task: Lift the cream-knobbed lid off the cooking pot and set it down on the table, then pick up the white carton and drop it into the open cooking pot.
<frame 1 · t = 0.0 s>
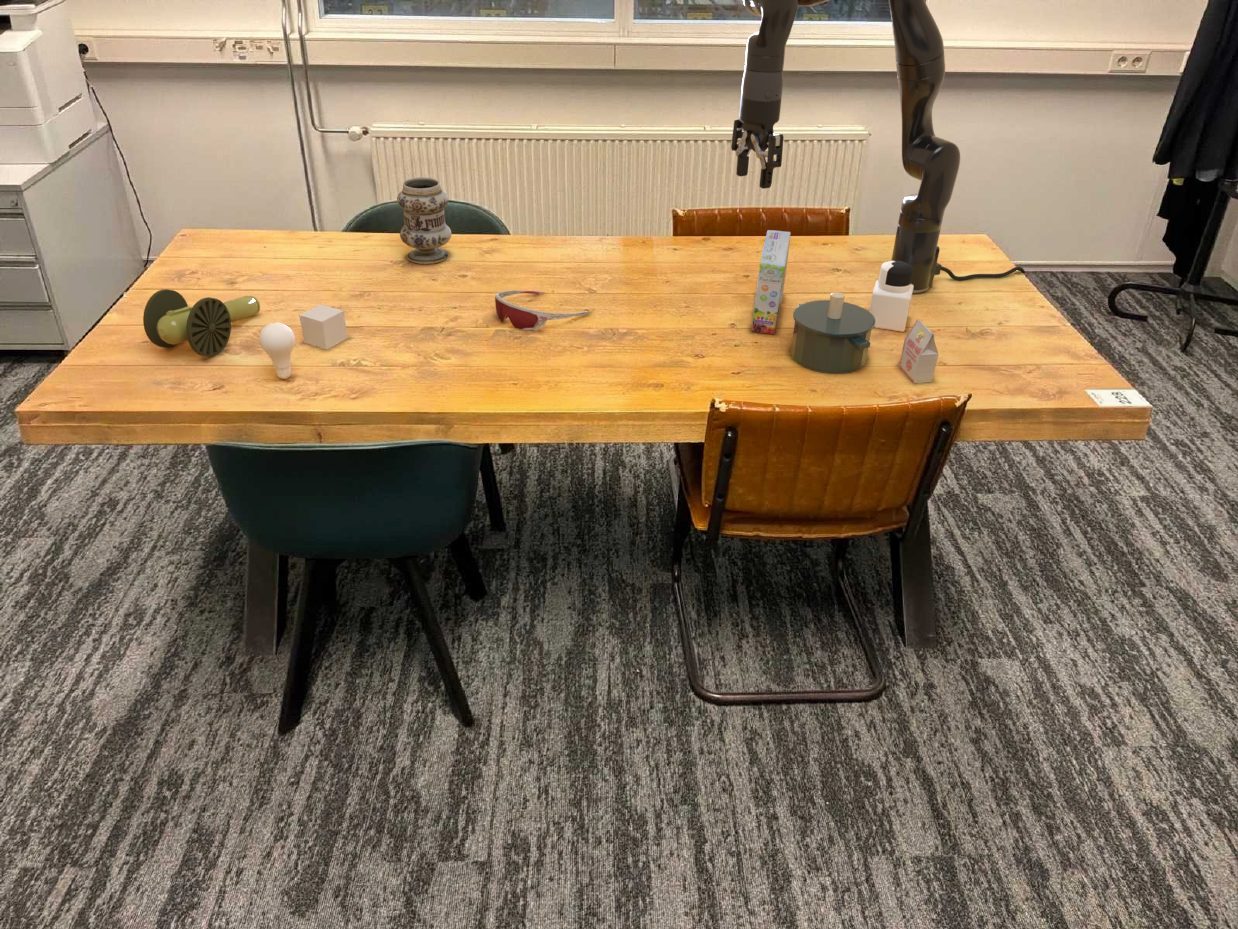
hand: (753, 181, 185), 29 cm above the table, tool pointing down, fingers open, 8 cm apart
canister lid: (833, 319, 183), point 8 cm above the table, touching cooking pot
cannon: (215, 338, 189), on the table
apothecary jar: (428, 257, 228), on the table
sunglasses: (536, 315, 201), on the table
snack box: (767, 314, 204), on the table
white carton: (915, 375, 181), on the table
lightbulb: (285, 379, 176), on the table
grey cube: (326, 341, 189), on the table
container: (886, 323, 201), on the table
cooking pot: (828, 356, 187), on the table
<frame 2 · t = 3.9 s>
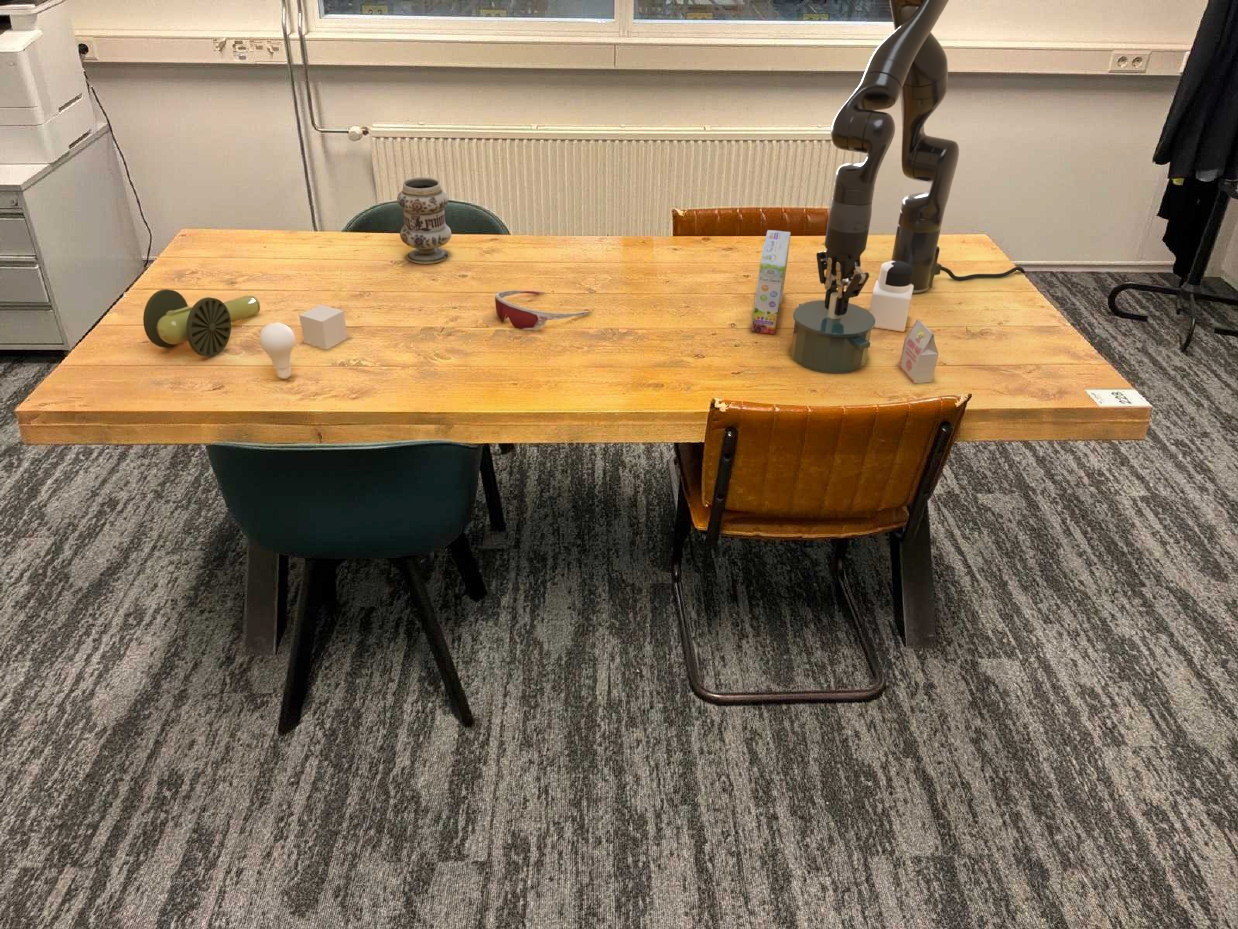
hand: (834, 310, 182), 10 cm above the table, tool pointing down, fingers closed on canister lid, 2 cm apart
canister lid: (833, 319, 183), point 8 cm above the table, touching gripper, cooking pot
everything else where it was.
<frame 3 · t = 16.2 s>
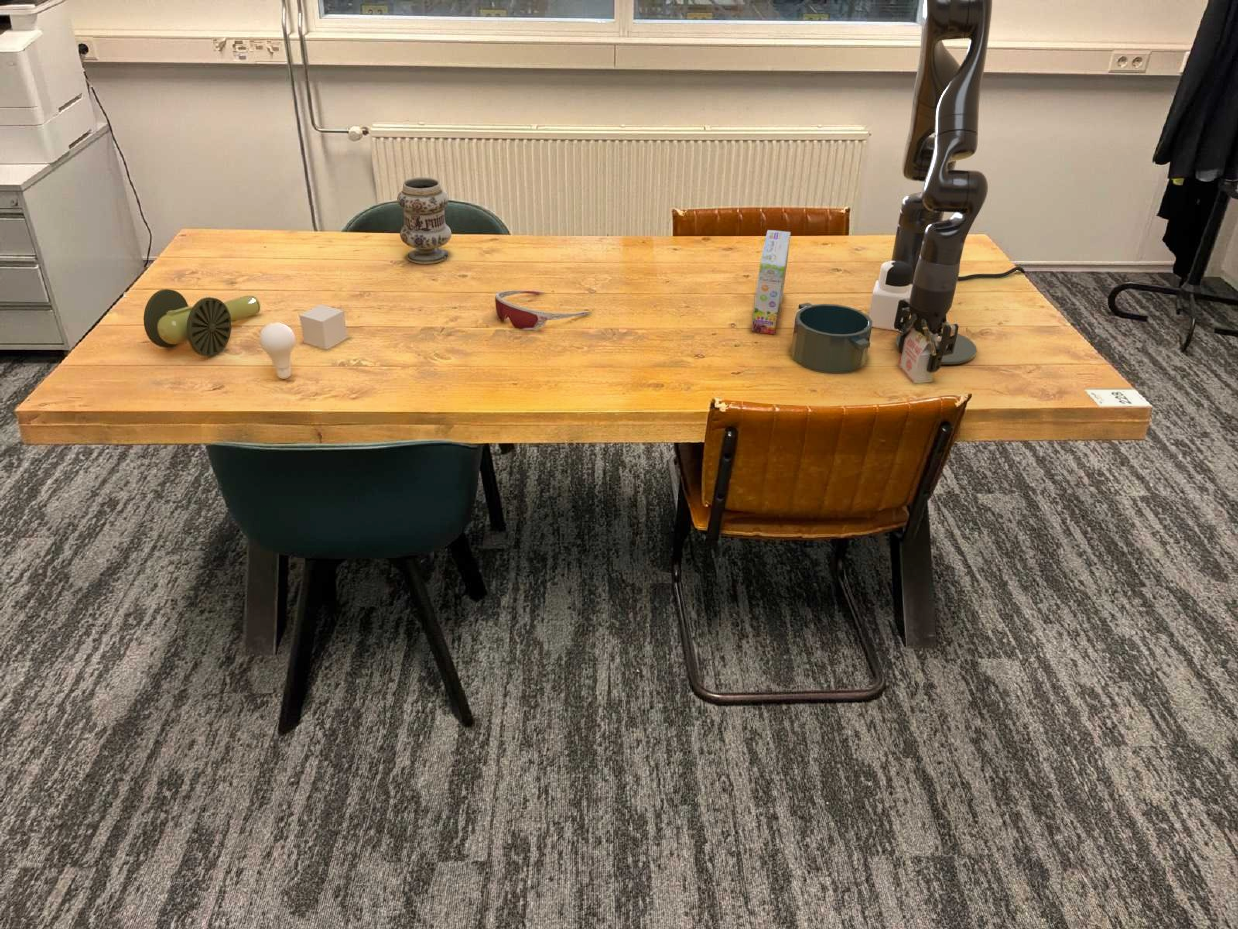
hand: (917, 362, 180), 3 cm above the table, tool pointing down, fingers closed on white carton, 7 cm apart
canister lid: (935, 346, 190), point 1 cm above the table
white carton: (915, 375, 181), on the table, touching gripper
everything else where it was.
when the fingers open (5 cm above the table, at t = 25.1 s): white carton drops 2 cm, resting on cooking pot.
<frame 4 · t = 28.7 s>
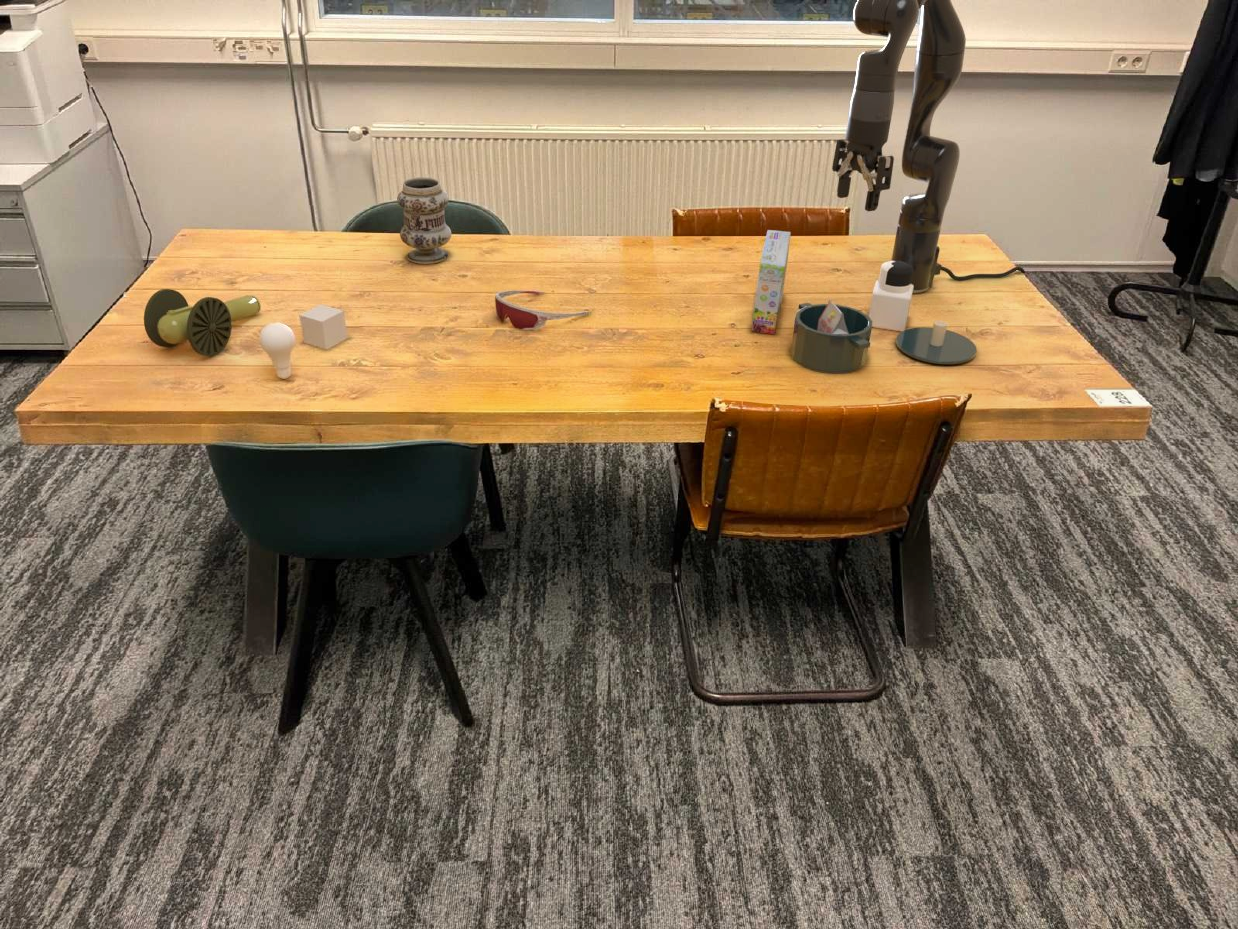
hand: (856, 203, 178), 28 cm above the table, tool pointing down, fingers open, 8 cm apart
white carton: (829, 354, 187), resting on cooking pot
everything else where it was.
at the end: canister lid inside the target area (0.2 cm from its centre), point 0.6 cm above the table; white carton inside the target area in the cooking pot (0.2 cm from its centre), point 0.3 cm above the cooking pot's base; the gripper is holding nothing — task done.
